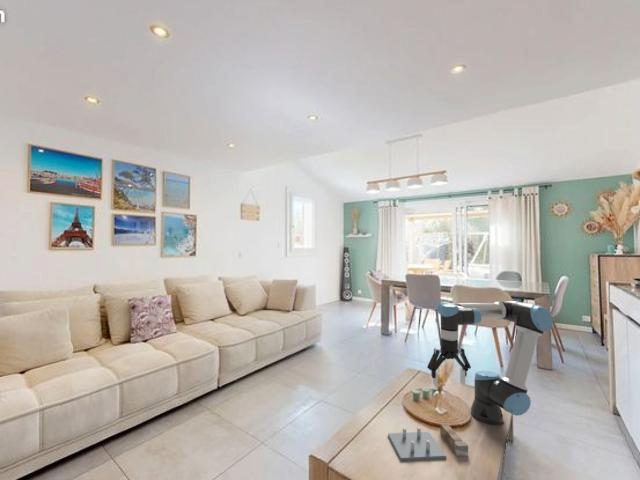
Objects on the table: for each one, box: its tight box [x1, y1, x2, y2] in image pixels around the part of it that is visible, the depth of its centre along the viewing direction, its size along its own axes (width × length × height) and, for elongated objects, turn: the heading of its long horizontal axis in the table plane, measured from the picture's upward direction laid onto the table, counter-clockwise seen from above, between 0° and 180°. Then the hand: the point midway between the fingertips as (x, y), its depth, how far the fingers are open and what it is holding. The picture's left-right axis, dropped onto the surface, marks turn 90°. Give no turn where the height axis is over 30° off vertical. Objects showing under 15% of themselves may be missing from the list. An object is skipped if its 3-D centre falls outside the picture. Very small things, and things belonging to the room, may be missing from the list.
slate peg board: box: [387, 426, 447, 462], centre depth 131 cm, size 20×16×5 cm
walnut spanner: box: [439, 423, 469, 457], centre depth 134 cm, size 16×5×4 cm, turn 6°
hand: (449, 384), depth 136 cm, fingers open, 13 cm apart
